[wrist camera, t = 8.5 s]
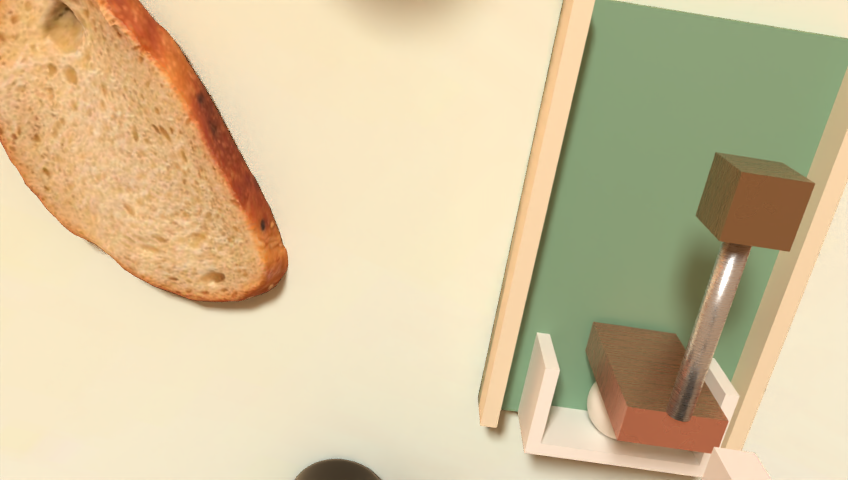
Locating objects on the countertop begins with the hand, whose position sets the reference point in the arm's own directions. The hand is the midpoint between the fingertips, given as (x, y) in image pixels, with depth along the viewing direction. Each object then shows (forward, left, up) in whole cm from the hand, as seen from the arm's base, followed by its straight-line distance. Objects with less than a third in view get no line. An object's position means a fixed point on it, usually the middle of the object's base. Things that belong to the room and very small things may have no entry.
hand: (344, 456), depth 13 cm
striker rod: (-5, -15, -27) cm, 31 cm away
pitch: (-5, -15, -29) cm, 33 cm away
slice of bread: (-4, +14, -29) cm, 33 cm away
